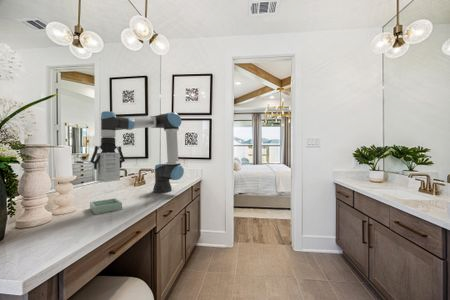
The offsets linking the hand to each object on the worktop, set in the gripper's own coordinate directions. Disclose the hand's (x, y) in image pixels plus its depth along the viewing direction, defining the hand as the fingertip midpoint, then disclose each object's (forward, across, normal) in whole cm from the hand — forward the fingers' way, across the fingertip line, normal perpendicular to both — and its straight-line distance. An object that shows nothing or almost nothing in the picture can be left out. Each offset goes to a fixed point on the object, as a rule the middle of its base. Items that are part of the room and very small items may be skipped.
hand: (108, 174), depth 120 cm
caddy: (+21, +1, 0) cm, 21 cm away
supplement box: (+4, 0, 0) cm, 4 cm away
